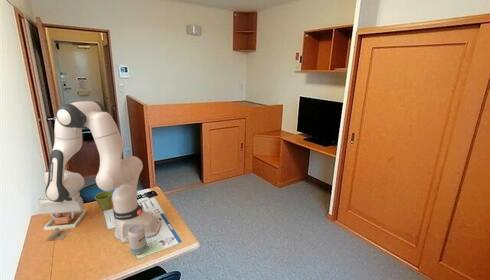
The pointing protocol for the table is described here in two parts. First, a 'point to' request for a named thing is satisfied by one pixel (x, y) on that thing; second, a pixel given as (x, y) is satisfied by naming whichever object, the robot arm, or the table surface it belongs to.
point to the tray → (48, 227)
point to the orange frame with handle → (62, 218)
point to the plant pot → (104, 200)
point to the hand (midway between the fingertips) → (64, 218)
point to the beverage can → (137, 239)
